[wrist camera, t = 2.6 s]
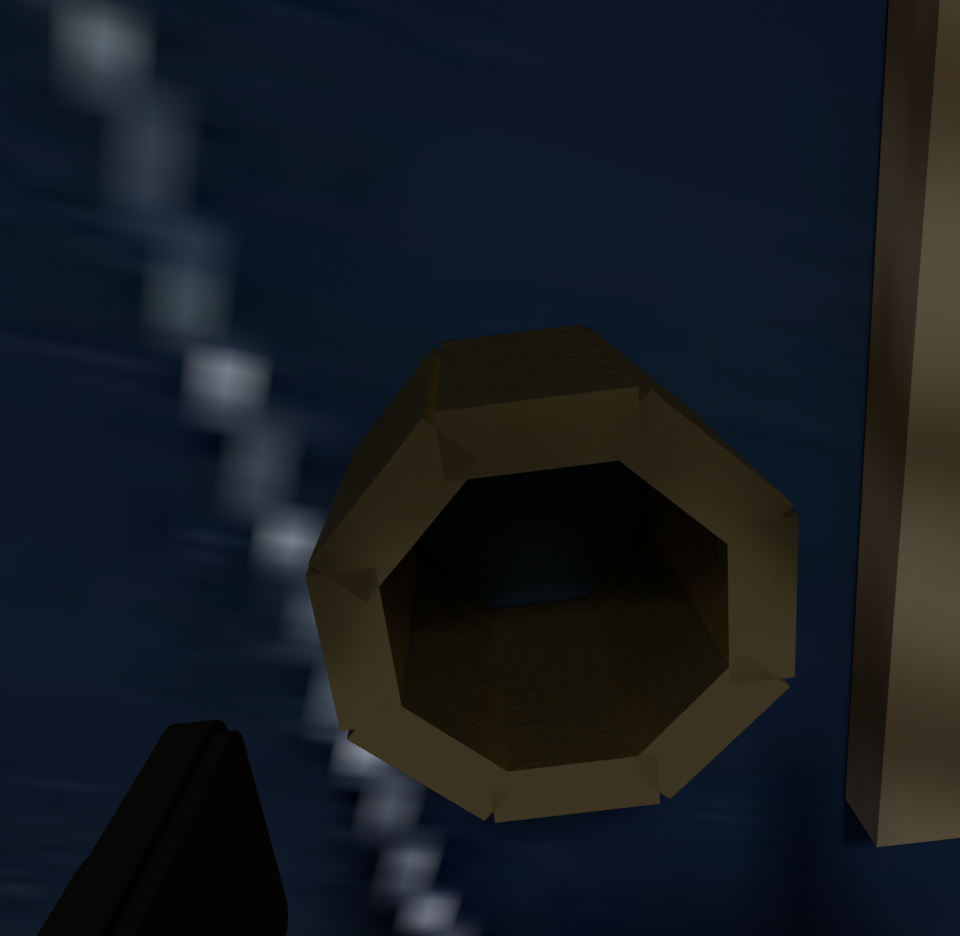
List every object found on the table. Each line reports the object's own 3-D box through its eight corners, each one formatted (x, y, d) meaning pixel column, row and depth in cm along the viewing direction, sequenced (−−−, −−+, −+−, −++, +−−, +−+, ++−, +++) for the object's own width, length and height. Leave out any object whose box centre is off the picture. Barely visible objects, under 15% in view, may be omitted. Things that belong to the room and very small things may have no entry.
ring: (332, 356, 15) (272, 431, 10) (691, 310, 15) (801, 365, 10) (390, 661, 17) (365, 837, 12) (699, 623, 17) (792, 788, 12)
